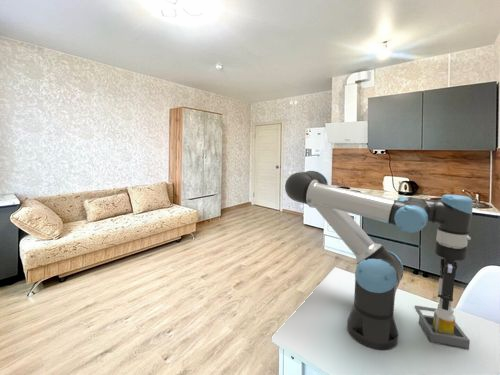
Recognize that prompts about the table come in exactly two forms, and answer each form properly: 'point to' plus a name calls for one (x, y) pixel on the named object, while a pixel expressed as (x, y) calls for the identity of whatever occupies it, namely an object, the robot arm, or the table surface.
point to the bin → (455, 341)
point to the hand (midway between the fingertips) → (442, 306)
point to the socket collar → (423, 309)
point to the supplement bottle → (443, 323)
